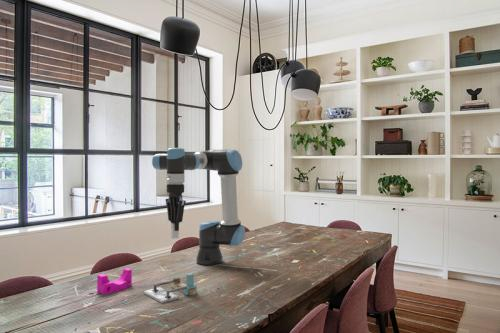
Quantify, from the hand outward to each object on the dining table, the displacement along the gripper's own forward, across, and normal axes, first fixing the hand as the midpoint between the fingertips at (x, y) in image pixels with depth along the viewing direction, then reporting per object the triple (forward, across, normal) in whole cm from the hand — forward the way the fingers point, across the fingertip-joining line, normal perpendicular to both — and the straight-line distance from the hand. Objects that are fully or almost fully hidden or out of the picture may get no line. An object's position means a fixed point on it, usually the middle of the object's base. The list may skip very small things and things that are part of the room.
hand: (175, 238), depth 166 cm
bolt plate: (+25, -3, -5) cm, 26 cm away
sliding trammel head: (+25, +5, +6) cm, 26 cm away
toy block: (+26, -26, -15) cm, 39 cm away
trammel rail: (+25, -3, +6) cm, 26 cm away
